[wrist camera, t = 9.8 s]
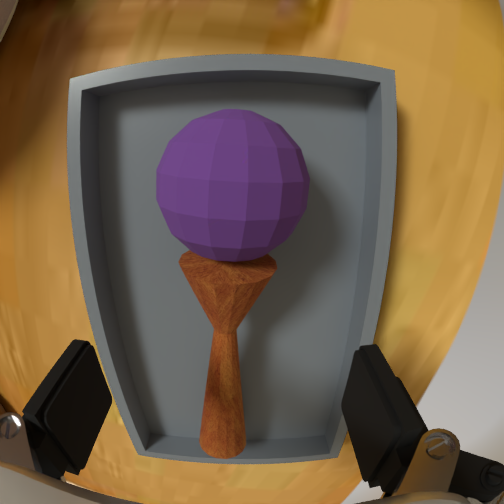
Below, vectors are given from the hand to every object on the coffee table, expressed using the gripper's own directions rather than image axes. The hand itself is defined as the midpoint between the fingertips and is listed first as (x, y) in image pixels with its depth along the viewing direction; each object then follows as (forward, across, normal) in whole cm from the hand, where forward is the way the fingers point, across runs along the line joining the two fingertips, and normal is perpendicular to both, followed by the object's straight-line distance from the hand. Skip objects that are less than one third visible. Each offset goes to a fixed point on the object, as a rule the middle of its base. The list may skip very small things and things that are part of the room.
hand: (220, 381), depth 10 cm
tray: (+8, 0, +1) cm, 8 cm away
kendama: (+7, 0, +1) cm, 7 cm away
